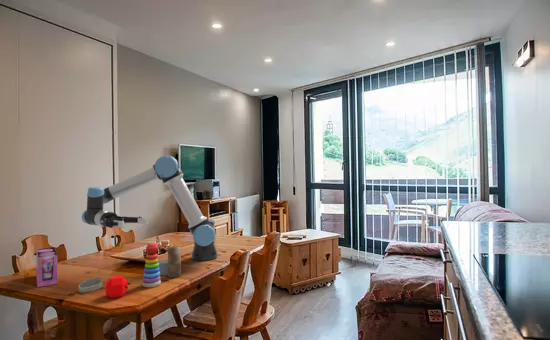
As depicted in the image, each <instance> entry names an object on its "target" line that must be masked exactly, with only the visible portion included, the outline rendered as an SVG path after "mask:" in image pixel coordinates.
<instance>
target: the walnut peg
mask: <svg viewBox="0 0 550 340" xmlns="http://www.w3.org/2000/svg"><path fill="white" fill-rule="evenodd" d="M181 249H182V247H181V246H179V245H174V246H168V247H167V260H168V275H167V277H168V278H169V279H177V278H180V277H182V256H181V255H182V253H181Z"/></svg>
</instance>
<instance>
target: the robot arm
mask: <svg viewBox="0 0 550 340" xmlns="http://www.w3.org/2000/svg"><path fill="white" fill-rule="evenodd" d="M183 177H184V172H183V171H182V168H181V167H180V163H179V161H178V160H177V159H176V158H175V157H174V156H173V155H167V154H166V155H163V156H160V157H158V158H157V159H156V161H155V163H154V164H153V165H152V166H151V168H148V169H145V170H143V171H142V172H139V173H137V174H135V175H132V176H130V177H128V178H126V179H124V180H121V181H119V182H116V183H114V184H112V185H110V186H108V187H100V186H99V187H98V186H93V187H88V189H87V194H86V196H87V198H86V199H87V200H86V210H85V211H83V213H82V215H81V220H82V222H83V223H85V224H87V225H91V226H100V227H101V228H104V227H105V228H109V229H113V228H114V227H117V228H125V224H134V223H135V224H139V225H149V218H143V217H141V216H140V215H139V216H121V215H118V214H116V213H115V212H112V211H107V210H106V211H105V210H104V204H107V203H111V202H112V201H113V200H115V199H117V198H120V197H121V196H125V195H126V194H129V193H131V192H134V191H136V190H137V189H141V188H142V187H144V186H146V185H149V184H151V183H153V182H155V181H162V183H163V184H164V185H167V186H168V188H169V190H170V191H171V194H172V196H173V197H174V198H175V201H176V203H177V204H178V206H179V208H180V210H181V212H182V214H183V215H184V218H185V219H186V220H187V222H188V227H187V229H188V230H189V232H190V234H191V236H192V240H193V243H194V244H193V249H192V252H191V256H190V257H191V258H190V259H191V261H197V262H201V261H204V262H205V261H211V260H215V259H217V258H218V251H217V248H216V246H215V238H216V230H215V222H214V221H215V220H214V219H213V218H208V217H207V216H204V215H203V213H202V211H201V209H200V208H199V205H198V204H197V202H196V200H195V198H194V196H193V194H192V193H191V190H190V189H189V187H188V185H187V184H186V182H185V180H184V178H183Z"/></svg>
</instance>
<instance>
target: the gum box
mask: <svg viewBox="0 0 550 340" xmlns="http://www.w3.org/2000/svg"><path fill="white" fill-rule="evenodd" d="M35 257H36V258H35V260H36V261H35V263H36V286H37V288H42V287H46V286H53V285H57V284H58V282H59V281H58V279H59V278H58V252H57V250H56V247H55V246H52V247H44V248H37V249H36V256H35Z"/></svg>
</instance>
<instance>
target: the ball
mask: <svg viewBox="0 0 550 340" xmlns="http://www.w3.org/2000/svg"><path fill="white" fill-rule="evenodd" d="M128 283H129V282H128V280H127V278H125V277H124V276H123V275H122V274H121V275H120V274H119V275H116V276H115V275H114V276H110V278H109V279H107V280H106V282H105V284H104V285H105V286H104V287H105V288H104V289H105V291H104V292H105V295H106V296H108V298H110V299H116V298H122V297H123V296H124V295H125V294H126V293H127V292H128V291H129V290H128V288H129V287H128V285H129V284H128Z"/></svg>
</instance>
